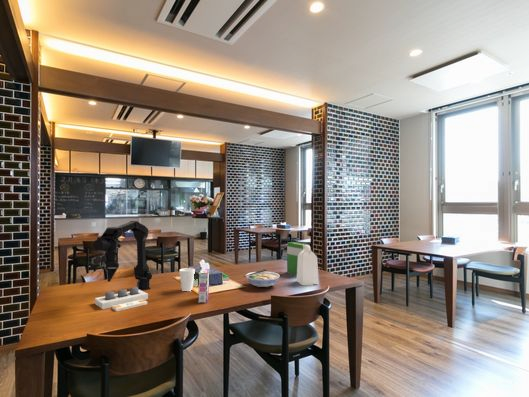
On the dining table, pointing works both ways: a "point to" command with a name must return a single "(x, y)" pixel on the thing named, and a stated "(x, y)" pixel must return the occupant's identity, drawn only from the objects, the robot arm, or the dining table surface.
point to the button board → (120, 299)
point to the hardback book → (293, 255)
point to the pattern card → (129, 305)
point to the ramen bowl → (262, 278)
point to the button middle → (122, 293)
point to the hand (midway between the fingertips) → (107, 280)
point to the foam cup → (187, 278)
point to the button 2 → (133, 290)
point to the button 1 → (109, 295)
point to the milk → (307, 267)
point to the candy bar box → (203, 286)
